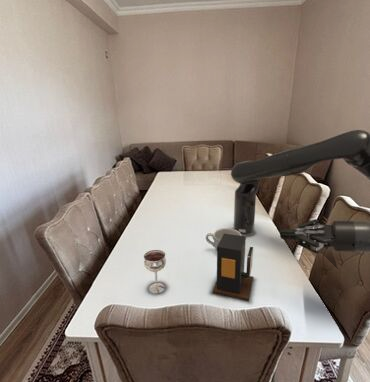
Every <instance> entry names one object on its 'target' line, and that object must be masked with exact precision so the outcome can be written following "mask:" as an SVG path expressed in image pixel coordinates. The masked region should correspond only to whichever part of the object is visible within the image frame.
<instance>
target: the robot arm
mask: <svg viewBox="0 0 370 382" xmlns="http://www.w3.org/2000/svg"><path fill="white" fill-rule="evenodd" d="M339 159H342V160H343V161H344V162H345V163H346V164H348V165H349V166H351V167H353V168H354V169H355V170H357V171H359V173H361V174H362V175H363V176H365V177H366V178H367V179H368V180H369V181H370V133H369V132H368V131H367V130H363V129H354V130H349V131H346V132H343V133H341V134H338V135H334V136H332V137H329V138H327V139H324V140H321V141H317V142H315V143H311V144H307V145H304V146H300V147H295V148H291V149H287V150H283V151H280V152H276V153H274V154H270V155H268V156H266V157H263V158H261V159H257V160H244V161H241V162H238V163H235V164H234V165H233V167H232V169H231V170H230V176H231V179H232V181H234V182H235V183H237V184H239V186H238V187H236V189H235V190H234V204H233V229H234V230H237V231H238V232H240V233H241V235H242V236H246V237H250V236H253V235H254V234H255V220H256V219H255V217H256V202H257V201H256V200H257V193H258V192H259V186H260V179H269V178H272V179H273V178H281V177H282V178H283V177H290V176H294V175H299V174H300V175H301V174H303V173H305V172H307V171H309V170H311V169H312V168H313V167H314V166H316V165H318V164H319V163H322V162H327V161H332V160H339ZM279 236H280V240H281V239H282V240H295V242H297V245H298V246H300V247H302V248H304V249H306V250H308V251H310V252H311V253H314V254H319V253H320V250H321V249H322V248H323V249H327V248H333V250H334V251H336V252H351V253H369V254H370V221H368V220H333V221H332V222H331V224H326V223H322V224H321V223H319V220H318V219H316V218H314V219H311V220H309V221H305V222H303V223H300V224H298V225H297V227H296V228H293V229H291V228H282V229H280V230H279Z"/></svg>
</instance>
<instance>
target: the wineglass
mask: <svg viewBox="0 0 370 382" xmlns="http://www.w3.org/2000/svg"><path fill="white" fill-rule="evenodd" d="M143 259H144V260H143V264H144V268H145V269H146V270H147V271H149V272H152V273H154V279H155V283H153V284H151V285H150V286H149V288H148V290H149V292H150V293H151V294H160V293H163V292H164V290H165V288H166V287H165V285H164V284H163V283H159V282H158V272H161V271H162V270H163V269H164V268H165V267H166V263H167V259H166V252H165V251H163V250H161V249H152V250H148V251H147V252H145V253H144V255H143Z"/></svg>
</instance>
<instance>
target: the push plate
mask: <svg viewBox="0 0 370 382" xmlns="http://www.w3.org/2000/svg"><path fill="white" fill-rule="evenodd" d="M253 259H254V246H249V249H248V252H247V257H246V270H245V271H246V272H245V273H246V277H249V278H250V276H251V273H252V268H253V261H254V260H253Z"/></svg>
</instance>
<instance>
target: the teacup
mask: <svg viewBox="0 0 370 382" xmlns="http://www.w3.org/2000/svg"><path fill="white" fill-rule="evenodd" d="M224 233H225V234H232V235H239V236H242V235H241V233H240V232H238V231H237V230H234V228H229V227H224V228H219V229H217V230H215V232H214V233H212V232H207V234H206V235H205V241H206V242H207V243H208V244H210V245H211V246H212V247H213V248H214V249H215V251H216V252H217V246H218V244H219V242H220V240H221V238H222V236H223V234H224ZM209 237H211V238H212V239H213V241H211V240H210V238H209Z"/></svg>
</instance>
